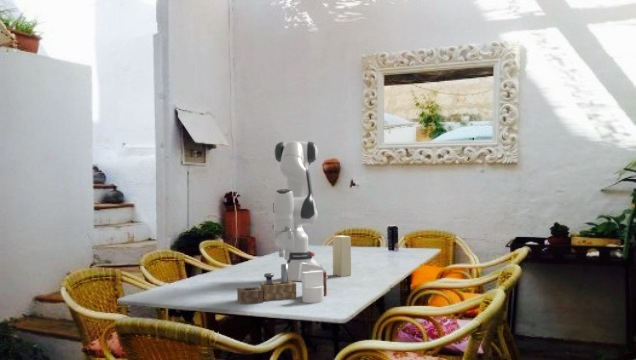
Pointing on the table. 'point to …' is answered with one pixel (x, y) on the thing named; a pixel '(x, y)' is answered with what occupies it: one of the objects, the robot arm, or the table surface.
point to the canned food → (323, 279)
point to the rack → (249, 295)
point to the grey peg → (284, 273)
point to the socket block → (278, 290)
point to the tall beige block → (341, 255)
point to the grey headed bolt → (269, 278)
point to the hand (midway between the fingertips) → (283, 258)
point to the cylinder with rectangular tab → (312, 286)
